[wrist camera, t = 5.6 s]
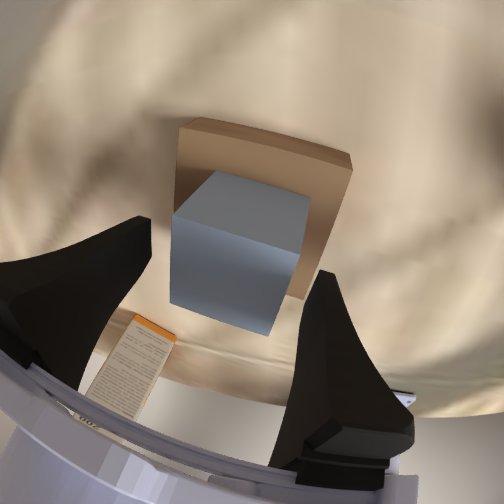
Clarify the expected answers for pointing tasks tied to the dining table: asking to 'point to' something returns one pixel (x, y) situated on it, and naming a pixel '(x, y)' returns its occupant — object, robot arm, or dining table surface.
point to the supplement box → (130, 371)
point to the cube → (236, 250)
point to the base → (268, 176)
